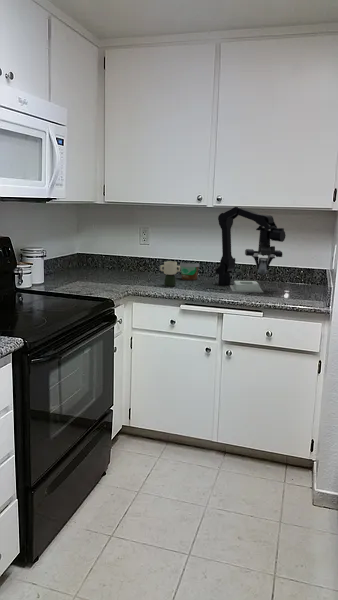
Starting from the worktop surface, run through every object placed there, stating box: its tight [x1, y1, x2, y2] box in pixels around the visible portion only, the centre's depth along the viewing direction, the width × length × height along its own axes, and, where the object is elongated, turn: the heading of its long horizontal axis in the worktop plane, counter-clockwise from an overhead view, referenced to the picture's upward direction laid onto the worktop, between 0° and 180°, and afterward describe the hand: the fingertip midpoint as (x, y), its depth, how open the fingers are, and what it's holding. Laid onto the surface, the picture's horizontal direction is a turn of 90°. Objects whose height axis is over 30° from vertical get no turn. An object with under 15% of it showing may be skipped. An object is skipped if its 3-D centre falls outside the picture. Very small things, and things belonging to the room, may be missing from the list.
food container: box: [179, 261, 200, 281], centre depth 287 cm, size 12×6×10 cm, turn 65°
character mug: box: [159, 260, 181, 287], centre depth 268 cm, size 11×7×13 cm, turn 86°
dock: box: [229, 280, 264, 294], centre depth 263 cm, size 16×16×4 cm
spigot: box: [257, 256, 268, 275], centre depth 258 cm, size 4×4×8 cm
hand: (262, 269), depth 258 cm, fingers closed on spigot, 4 cm apart
